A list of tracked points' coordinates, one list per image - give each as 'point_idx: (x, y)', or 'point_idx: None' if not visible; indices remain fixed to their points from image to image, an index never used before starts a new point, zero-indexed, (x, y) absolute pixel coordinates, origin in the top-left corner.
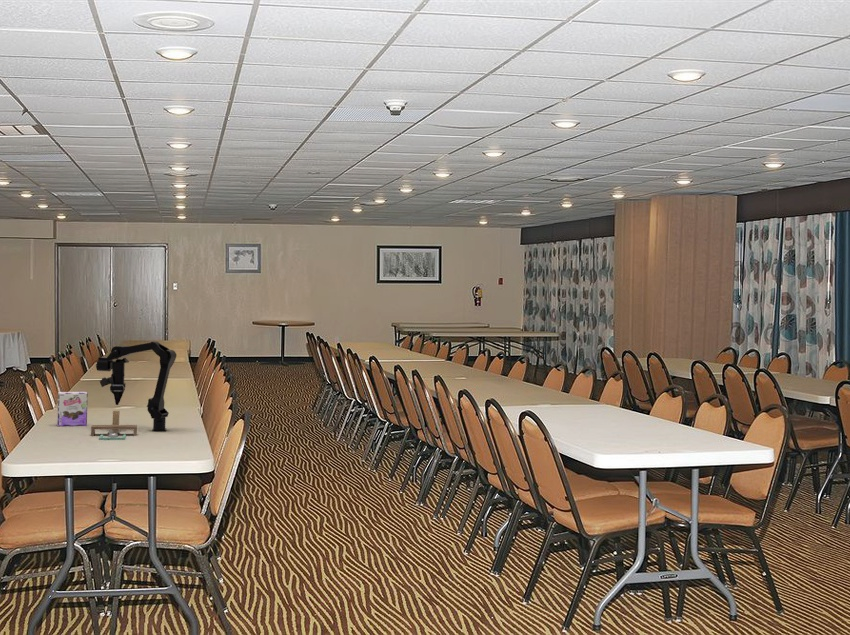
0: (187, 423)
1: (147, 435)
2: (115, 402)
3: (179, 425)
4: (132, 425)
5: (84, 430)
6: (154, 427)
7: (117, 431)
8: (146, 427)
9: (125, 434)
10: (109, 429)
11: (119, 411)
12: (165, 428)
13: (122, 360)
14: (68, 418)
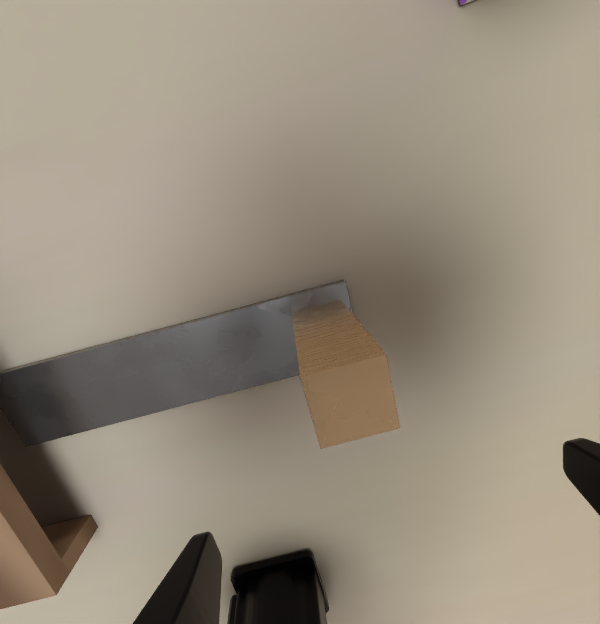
0: (596, 616)
1: None
2: (160, 585)
3: (512, 607)
4: (2, 582)
5: (130, 104)
6: (249, 597)
7: (96, 413)
8: (407, 490)
9: None
10: (182, 325)
11: (369, 429)
12: (325, 609)
13: None
14: None
